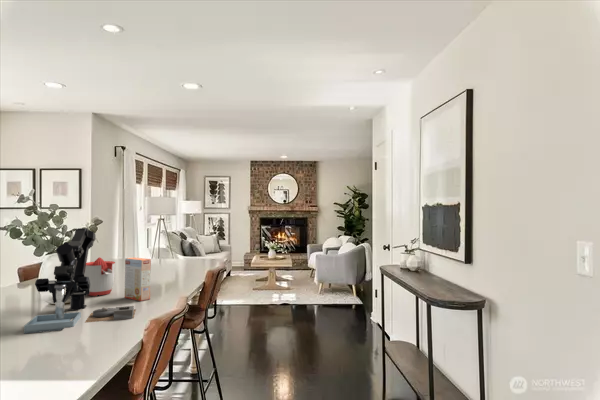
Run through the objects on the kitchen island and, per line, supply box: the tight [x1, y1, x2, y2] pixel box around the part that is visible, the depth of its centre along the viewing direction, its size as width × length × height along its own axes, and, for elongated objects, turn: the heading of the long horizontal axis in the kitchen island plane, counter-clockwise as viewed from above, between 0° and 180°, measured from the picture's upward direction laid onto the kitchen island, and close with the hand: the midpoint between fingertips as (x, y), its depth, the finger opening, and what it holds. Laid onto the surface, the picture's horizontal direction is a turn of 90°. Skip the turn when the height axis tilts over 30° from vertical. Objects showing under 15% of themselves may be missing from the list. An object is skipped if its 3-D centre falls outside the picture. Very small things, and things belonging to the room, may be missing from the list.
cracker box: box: [124, 257, 152, 302], centre depth 195 cm, size 14×6×21 cm, turn 58°
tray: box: [23, 311, 82, 335], centre depth 149 cm, size 14×16×3 cm
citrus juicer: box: [84, 257, 116, 297], centre depth 205 cm, size 16×17×20 cm
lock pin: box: [54, 284, 66, 319], centre depth 149 cm, size 4×4×13 cm
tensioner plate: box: [84, 305, 137, 324], centre depth 160 cm, size 15×18×4 cm
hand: (59, 302), depth 148 cm, fingers closed on lock pin, 3 cm apart
